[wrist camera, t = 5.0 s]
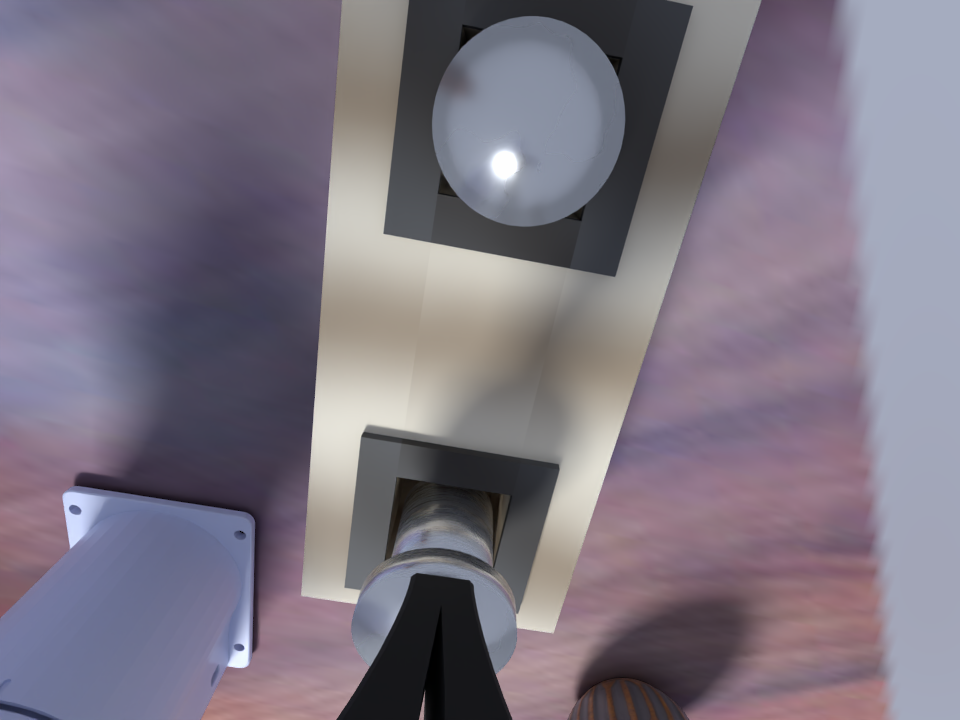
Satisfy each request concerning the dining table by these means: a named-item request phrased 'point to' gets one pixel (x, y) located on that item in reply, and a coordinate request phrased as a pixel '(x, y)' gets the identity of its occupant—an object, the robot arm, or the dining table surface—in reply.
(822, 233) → the dining table surface
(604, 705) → the vase
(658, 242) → the birch bar
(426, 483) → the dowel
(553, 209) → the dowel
